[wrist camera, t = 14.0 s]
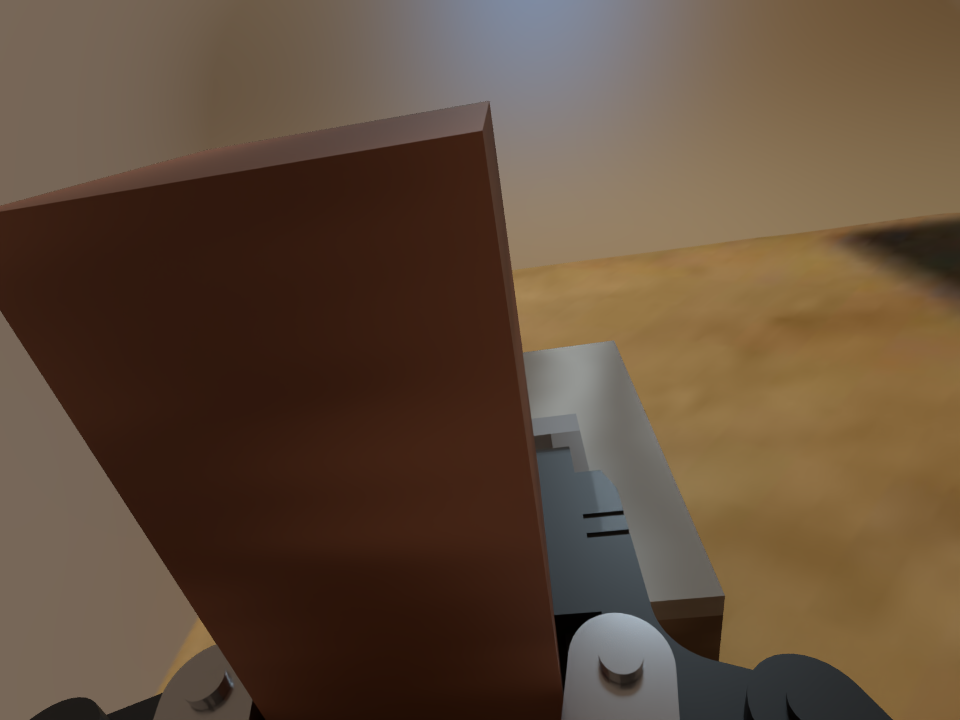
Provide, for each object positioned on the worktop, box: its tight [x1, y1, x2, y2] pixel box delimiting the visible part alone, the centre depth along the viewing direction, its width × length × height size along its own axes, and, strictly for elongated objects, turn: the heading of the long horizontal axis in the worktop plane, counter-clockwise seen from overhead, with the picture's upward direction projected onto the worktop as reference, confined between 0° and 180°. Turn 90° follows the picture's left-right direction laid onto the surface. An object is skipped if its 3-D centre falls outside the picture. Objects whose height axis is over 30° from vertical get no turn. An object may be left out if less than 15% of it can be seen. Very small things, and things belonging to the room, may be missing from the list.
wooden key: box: [0, 101, 564, 720], centre depth 9 cm, size 4×4×16 cm
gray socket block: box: [523, 341, 725, 661], centre depth 26 cm, size 14×18×10 cm
